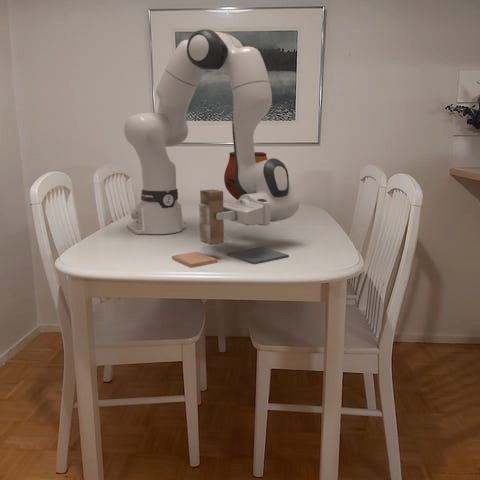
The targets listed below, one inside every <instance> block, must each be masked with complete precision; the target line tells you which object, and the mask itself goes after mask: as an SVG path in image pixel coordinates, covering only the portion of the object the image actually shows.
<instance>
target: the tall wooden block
mask: <svg viewBox="0 0 480 480" xmlns="http://www.w3.org/2000/svg"><path fill="white" fill-rule="evenodd" d="M199 193H200V195H199V196H200V200H199V202H200V203H199V204H198V208H199V210H198V211H199V240H200V241H199V242H202V243H204V244H206V245H209V246H215V245H216V246H217V245H221V244H225V235H224V234H225V229H224V228H225V226H224V220H217V219H215V218H214V217H215V216H214V214H215V213H216V212H223V200H224V191H223V190H219V189H213V188H212V189H204V190H200V192H199Z"/></svg>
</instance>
